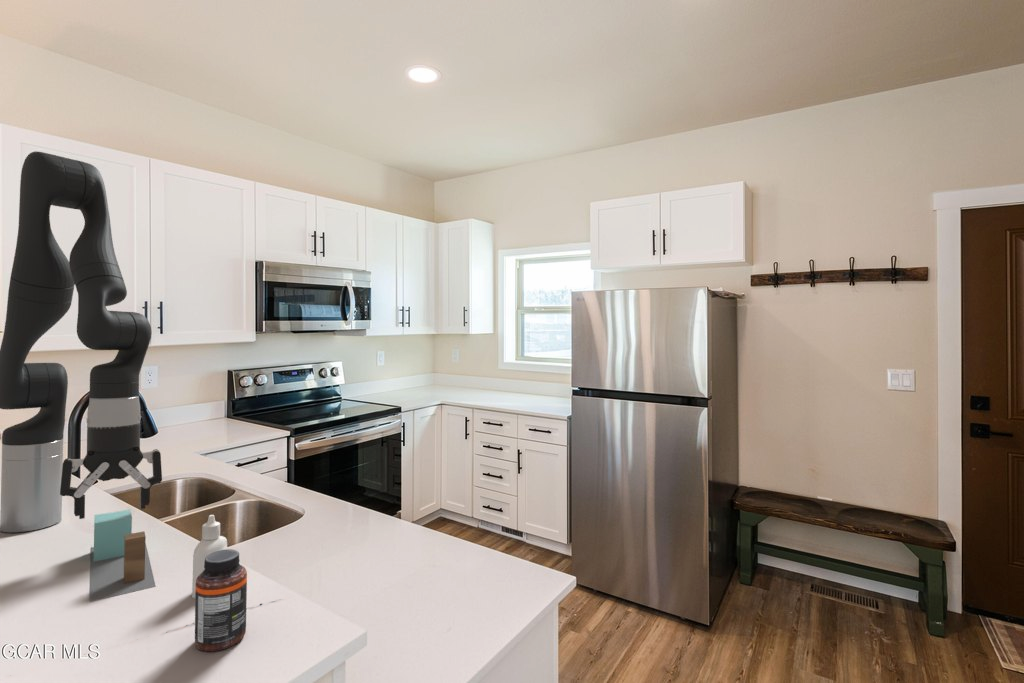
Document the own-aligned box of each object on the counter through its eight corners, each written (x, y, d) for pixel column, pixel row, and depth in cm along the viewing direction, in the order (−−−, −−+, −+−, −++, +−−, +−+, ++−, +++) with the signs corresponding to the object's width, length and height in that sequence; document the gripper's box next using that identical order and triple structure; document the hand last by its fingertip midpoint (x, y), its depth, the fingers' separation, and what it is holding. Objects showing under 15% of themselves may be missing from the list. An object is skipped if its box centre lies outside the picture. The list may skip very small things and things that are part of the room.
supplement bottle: (208, 627, 70) (210, 545, 70) (253, 626, 71) (255, 545, 71) (184, 654, 64) (186, 564, 64) (233, 653, 65) (235, 564, 65)
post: (123, 577, 83) (124, 534, 83) (143, 573, 84) (144, 531, 84) (124, 584, 81) (125, 539, 81) (144, 579, 82) (145, 536, 82)
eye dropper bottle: (235, 588, 81) (237, 513, 81) (198, 604, 76) (200, 523, 76) (220, 581, 83) (222, 507, 83) (183, 595, 78) (185, 517, 78)
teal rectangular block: (93, 551, 92) (94, 515, 92) (129, 544, 95) (130, 509, 95) (93, 561, 88) (94, 523, 88) (131, 554, 91) (131, 517, 91)
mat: (90, 549, 94) (90, 547, 94) (144, 539, 99) (144, 537, 99) (89, 604, 75) (89, 601, 75) (155, 588, 80) (155, 586, 80)
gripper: (160, 416, 99) (159, 500, 99) (62, 423, 90) (61, 515, 90) (164, 421, 93) (163, 510, 93) (60, 428, 84) (58, 527, 84)
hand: (113, 512), depth 91 cm, fingers open, 8 cm apart
